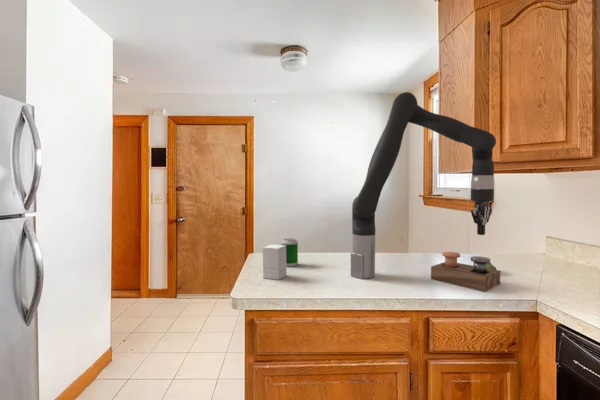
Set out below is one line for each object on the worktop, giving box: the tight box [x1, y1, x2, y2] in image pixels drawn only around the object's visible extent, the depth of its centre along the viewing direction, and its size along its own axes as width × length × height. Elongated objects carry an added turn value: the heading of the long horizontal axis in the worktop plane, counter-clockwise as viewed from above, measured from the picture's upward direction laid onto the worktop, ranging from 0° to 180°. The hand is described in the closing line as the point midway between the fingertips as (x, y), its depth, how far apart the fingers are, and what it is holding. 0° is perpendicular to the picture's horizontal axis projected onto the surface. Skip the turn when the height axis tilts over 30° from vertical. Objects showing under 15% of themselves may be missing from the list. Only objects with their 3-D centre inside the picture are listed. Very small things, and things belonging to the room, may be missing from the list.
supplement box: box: [262, 243, 288, 281], centre depth 132 cm, size 7×7×13 cm
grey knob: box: [470, 256, 491, 274], centre depth 121 cm, size 6×6×6 cm
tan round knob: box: [441, 251, 461, 268], centre depth 130 cm, size 6×6×6 cm
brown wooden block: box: [430, 261, 502, 293], centre depth 126 cm, size 14×20×5 cm
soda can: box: [280, 238, 299, 268], centre depth 151 cm, size 8×8×12 cm
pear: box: [487, 262, 497, 270], centre depth 138 cm, size 6×5×10 cm
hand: (481, 234), depth 120 cm, fingers closed
